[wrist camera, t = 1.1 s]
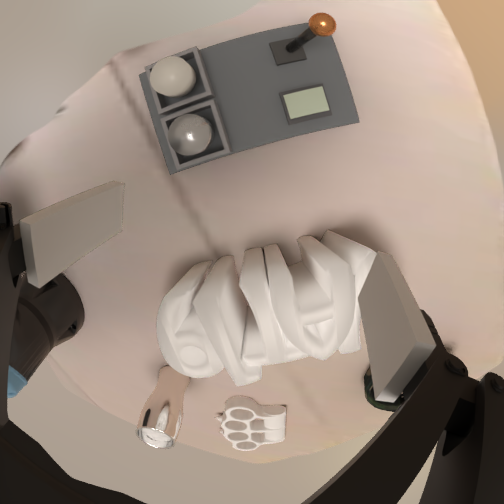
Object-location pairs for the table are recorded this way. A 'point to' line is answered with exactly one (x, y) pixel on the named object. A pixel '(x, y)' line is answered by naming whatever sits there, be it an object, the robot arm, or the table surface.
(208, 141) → the metal button
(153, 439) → the beer glass
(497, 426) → the robot arm
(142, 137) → the table surface
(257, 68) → the switch panel
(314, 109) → the rocker switch
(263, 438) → the knuckle duster
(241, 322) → the white wavy slab sculpture
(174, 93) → the white button
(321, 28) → the toggle lever
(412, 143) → the table surface
